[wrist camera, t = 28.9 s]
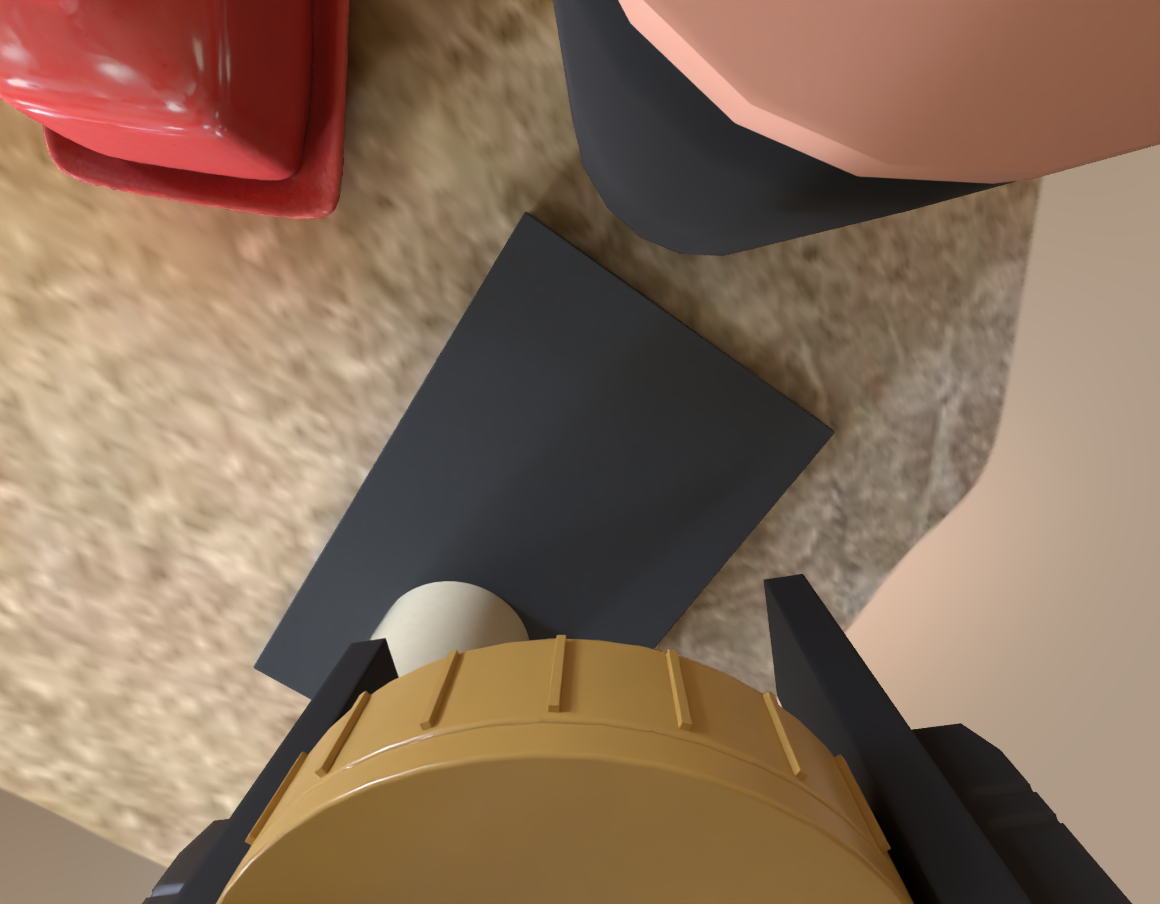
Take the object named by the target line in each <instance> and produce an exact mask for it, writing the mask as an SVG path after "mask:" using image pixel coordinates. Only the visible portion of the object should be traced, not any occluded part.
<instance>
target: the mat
mask: <svg viewBox="0 0 1160 904" xmlns="http://www.w3.org/2000/svg"><path fill="white" fill-rule="evenodd" d="M833 434H834V430H832V429H831V428H829V427H828V426H827V425H825V424H824V423H822V422H821V421H820V420H818V419H817V418H815V417H814V416H813V415H811V414H810V413H808V412H807V411H806V410H804V409H803V408H801V407H800V406H799V405H797V404H796V403H794V402H793V401H792V400H790V399H789V398H787V397H786V396H785V395H783V394H782V393H780V392H779V391H777V390H776V389H775V388H773V387H772V386H770V385H769V384H768V383H766V382H765V381H763V380H762V379H761V378H759V377H758V376H756V375H755V374H754V373H752V372H751V371H749V370H748V369H747V368H745V367H744V366H742V365H741V364H740V363H738V362H737V361H735V360H734V359H733V358H731V357H730V356H728V355H727V354H726V353H724V352H723V351H721V350H720V349H718V348H717V347H716V346H714V345H713V344H711V343H710V342H709V341H707V340H706V339H704V338H703V337H702V336H700V335H699V334H697V333H696V332H695V331H693V330H692V329H690V328H689V327H688V326H686V325H685V324H683V323H682V322H681V321H679V320H678V319H676V318H675V317H674V316H672V315H671V314H669V313H668V312H667V311H665V310H664V309H662V308H661V307H659V306H658V305H657V304H655V303H654V302H652V301H651V300H650V299H648V298H647V297H645V296H644V295H643V294H641V293H640V292H638V291H637V290H636V289H634V288H633V287H631V286H630V285H629V284H627V283H626V282H624V281H623V280H622V279H620V278H619V277H617V276H616V275H615V274H613V273H612V272H610V271H609V270H608V269H606V268H605V267H603V266H602V265H601V264H599V263H598V262H596V261H595V260H593V259H592V258H591V257H589V256H588V255H586V254H585V253H584V252H582V251H581V250H579V249H578V248H577V247H575V246H574V245H572V244H571V243H570V242H568V241H567V240H565V239H564V238H563V237H561V236H560V235H558V234H557V233H556V232H554V231H553V230H551V229H550V228H549V227H547V226H546V225H544V224H543V223H542V222H540V221H539V220H537V219H536V218H534V217H533V216H532V215H530V214H529V213H527V212H525V213H524V214H523V216H522V218H521V219H520V221H519V223H518V224H517V226H516V228H515V229H514V231H513V233H512V234H511V236H510V238H509V239H508V241H507V243H506V244H505V246H504V248H503V249H502V251H501V253H500V255H499V256H498V258H497V260H496V261H495V263H494V265H493V266H492V268H491V270H490V271H489V273H488V275H487V276H486V278H485V280H484V281H483V283H482V285H481V286H480V288H479V290H478V291H477V293H476V295H475V296H474V298H473V300H472V301H471V303H470V305H469V306H468V308H467V310H466V311H465V313H464V315H463V317H462V318H461V320H460V322H459V323H458V325H457V327H456V328H455V330H454V332H453V333H452V335H451V337H450V338H449V340H448V342H447V343H446V345H445V347H444V348H443V350H442V352H441V353H440V355H439V357H438V358H437V360H436V362H435V363H434V365H433V367H432V368H431V370H430V372H429V374H428V375H427V377H426V379H425V380H424V382H423V384H422V385H421V387H420V389H419V390H418V392H417V394H416V395H415V397H414V399H413V400H412V402H411V404H410V405H409V407H408V409H407V410H406V412H405V414H404V415H403V417H402V419H401V420H400V422H399V424H398V425H397V427H396V429H395V430H394V432H393V434H392V436H391V437H390V439H389V441H388V442H387V444H386V446H385V447H384V449H383V451H382V452H381V454H380V456H379V457H378V459H377V461H376V462H375V464H374V466H373V467H372V469H371V471H370V472H369V474H368V476H367V477H366V479H365V481H364V482H363V484H362V486H361V487H360V489H359V491H358V493H357V494H356V496H355V498H354V499H353V501H352V503H351V504H350V506H349V508H348V509H347V511H346V513H345V514H344V516H343V518H342V519H341V521H340V523H339V524H338V526H337V528H336V529H335V531H334V533H333V534H332V536H331V538H330V539H329V541H328V543H327V544H326V546H325V548H324V549H323V551H322V553H321V555H320V556H319V558H318V560H317V561H316V563H315V565H314V566H313V568H312V570H311V571H310V573H309V575H308V576H307V578H306V580H305V581H304V583H303V585H302V586H301V588H300V590H299V591H298V593H297V595H296V596H295V598H294V600H293V601H292V603H291V605H290V606H289V608H288V610H287V611H286V613H285V615H284V617H283V618H282V620H281V622H280V623H279V625H278V627H277V628H276V630H275V632H274V633H273V635H272V637H271V638H270V640H269V642H268V643H267V645H266V647H265V648H264V650H263V652H262V653H261V655H260V657H259V658H258V660H257V662H256V663H255V665H254V669H256V670H258V671H260V672H262V673H264V674H265V675H267V676H269V677H271V678H273V679H275V680H276V681H278V682H280V683H282V684H284V685H286V686H287V687H289V688H291V689H293V690H295V691H296V692H298V693H300V694H302V695H304V696H306V697H307V698H309V699H311V700H312V699H313V697H314V696H315V695H316V693H317V692H318V690H319V689H320V687H321V686H322V684H323V683H324V682H325V680H326V679H327V677H328V676H329V674H330V673H331V671H332V670H333V669H334V667H335V666H336V664H337V663H338V661H339V660H340V658H341V657H342V656H343V654H344V653H345V651H346V650H347V648H348V647H349V645H350V644H351V643H355V642H362V641H368V640H369V639H370V638H371V636H372V635H373V633H374V632H375V630H376V628H377V627H378V625H379V624H380V622H381V621H382V619H383V618H384V616H385V615H386V613H387V611H388V610H389V609H390V608H391V606H392V605H393V604H394V603H395V602H396V601H397V600H398V599H399V598H400V597H402V596H403V595H404V594H406V593H407V592H409V591H411V590H413V589H415V588H417V587H420V586H422V585H425V584H430V583H434V582H443V581H456V582H463V583H468V584H472V585H476V586H478V587H481V588H484V589H486V590H488V591H490V592H492V593H494V594H495V595H497V596H498V597H500V598H501V599H503V600H504V601H505V602H506V603H507V604H508V605H509V606H510V607H511V608H512V609H513V610H514V611H515V612H516V613H517V615H518V616H519V618H520V619H521V621H522V622H523V624H524V627H525V629H526V631H527V634H528V637H529V641H530V640H542V639H556V636H557V635H566V639H584V640H602V641H609V642H616V643H623V644H630V645H639V646H643V647H648V648H651V649H654V648H655V647H656V646H657V644H658V643H659V642H660V641H661V640H662V638H663V637H664V636H665V635H666V634H667V632H668V631H669V630H670V629H671V628H672V626H673V625H674V624H675V623H676V622H677V620H678V619H679V618H680V617H681V616H682V614H683V613H684V612H685V611H686V610H687V608H688V607H689V606H690V605H691V604H692V602H693V601H694V600H695V599H696V598H697V597H698V595H699V594H700V593H701V592H702V591H703V589H704V588H705V587H706V586H707V585H708V583H709V582H710V581H711V580H712V579H713V577H714V576H715V575H716V574H717V573H718V571H719V570H720V569H721V568H722V567H723V565H724V564H725V563H726V562H727V561H728V559H729V558H730V557H731V556H732V555H733V553H734V552H735V551H736V550H737V549H738V547H739V546H740V545H741V544H742V543H743V542H744V540H745V539H746V538H747V537H748V536H749V534H750V533H751V532H752V531H753V530H754V528H755V527H756V526H757V525H758V524H759V522H760V521H761V520H762V519H763V518H764V516H765V515H766V514H767V513H768V512H769V510H770V509H771V508H772V507H773V506H774V504H775V503H776V502H777V501H778V500H779V498H780V497H781V496H782V495H783V494H784V492H785V491H786V490H787V489H788V488H789V487H790V485H791V484H792V483H793V482H794V481H795V479H796V478H797V477H798V476H799V475H800V473H801V472H802V471H803V470H804V469H805V467H806V466H807V465H808V464H809V463H810V461H811V460H812V459H813V458H814V457H815V455H816V454H817V453H818V452H819V451H820V449H821V448H822V447H823V446H824V445H825V443H826V442H827V441H828V440H829V439H830V437H831V436H832V435H833Z"/></svg>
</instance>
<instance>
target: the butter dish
mask: <svg viewBox="0 0 1160 904" xmlns="http://www.w3.org/2000/svg"><path fill="white" fill-rule="evenodd" d="M348 21H349V0H0V98H1V99H2V100H4V101H5V102H7V103H8V104H10V105H11V106H13V107H14V108H16V109H17V110H19V111H20V112H23V113H24V114H26V115H27V116H29V117H30V118H32V119H34V120H36V121H37V122H39V123H40V124H42V126H43V132H44V135H45V141H46V145H47V148H48V152H49V153H50V157H51V158H52V160H53V161H54V163H55V165H56V166H57V168H58V169H59V170H60V171H62V172H63V173H65V174H66V175H68V176H70V177H72V178H74V179H76V180H79V181H81V182H85V183H89V184H93V185H96V186H105V187H109V188H111V189H113V190H120V191H126V192H132V193H137V194H141V195H148V196H155V197H159V198H165V199H170V200H176V201H181V202H188V203H193V204H200V205H204V206H211V207H220V208H224V209H232V210H235V211H242V212H247V213H255V214H262V215H266V216H275V217H281V218H283V217H288V218H319V217H324V216H327V215H329V214H331V213H332V212H333V211H334V210H335V208H336V206H337V204H338V201H339V198H340V191H341V183H342V176H343V165H344V157H343V154H344V135H345V109H346V82H347V60H348Z"/></svg>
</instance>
